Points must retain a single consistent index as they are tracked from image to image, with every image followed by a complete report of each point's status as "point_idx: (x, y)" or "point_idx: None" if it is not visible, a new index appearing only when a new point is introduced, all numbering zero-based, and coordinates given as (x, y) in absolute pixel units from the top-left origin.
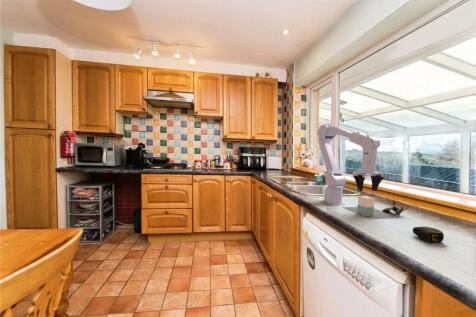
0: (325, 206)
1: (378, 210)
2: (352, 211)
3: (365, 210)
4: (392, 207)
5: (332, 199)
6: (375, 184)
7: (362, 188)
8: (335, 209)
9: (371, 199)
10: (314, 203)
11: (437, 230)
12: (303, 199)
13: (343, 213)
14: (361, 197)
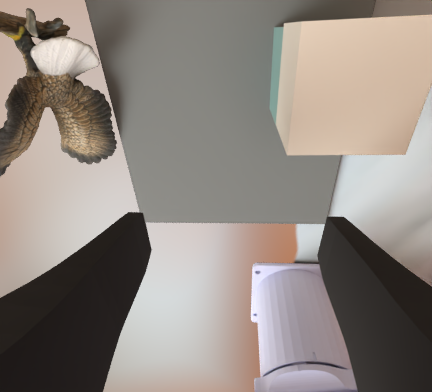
0: (395, 252)
1: (134, 155)
2: None
3: None
4: (77, 46)
5: (329, 299)
6: (105, 285)
7: (347, 233)
8: (392, 201)
9: (348, 19)
10: None
11: None
12: None
13: (429, 120)
14: (420, 100)
